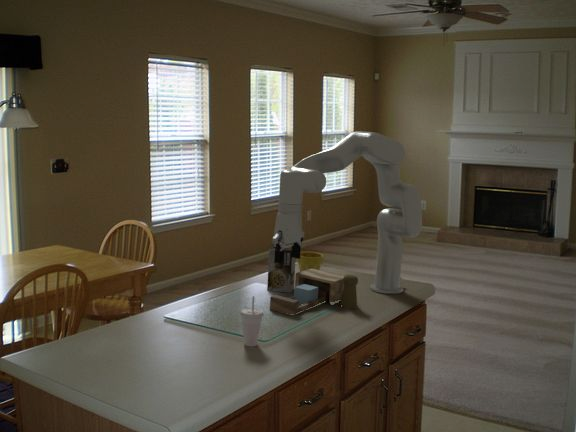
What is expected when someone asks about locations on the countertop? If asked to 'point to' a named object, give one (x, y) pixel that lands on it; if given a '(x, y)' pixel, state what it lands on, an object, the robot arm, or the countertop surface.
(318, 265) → the plant pot
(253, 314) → the smoothie
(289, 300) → the brown wooden frame
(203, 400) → the countertop surface
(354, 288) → the cork
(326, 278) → the tan boxy piece
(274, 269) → the coffee box
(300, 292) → the blue block
